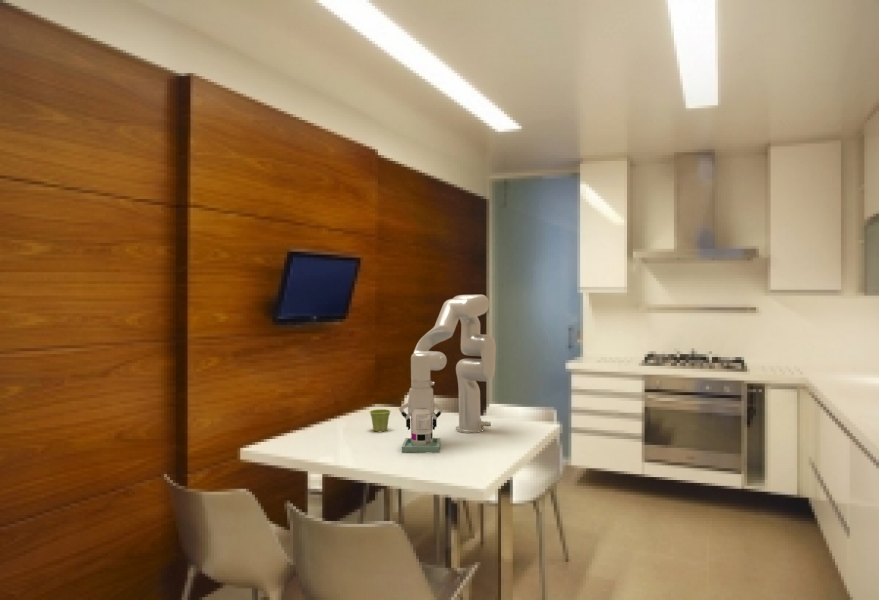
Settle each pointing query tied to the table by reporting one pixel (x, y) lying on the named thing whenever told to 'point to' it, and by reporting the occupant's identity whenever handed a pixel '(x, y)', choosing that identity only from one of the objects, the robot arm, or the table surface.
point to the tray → (421, 447)
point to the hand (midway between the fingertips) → (421, 429)
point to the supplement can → (421, 428)
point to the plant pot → (380, 419)
